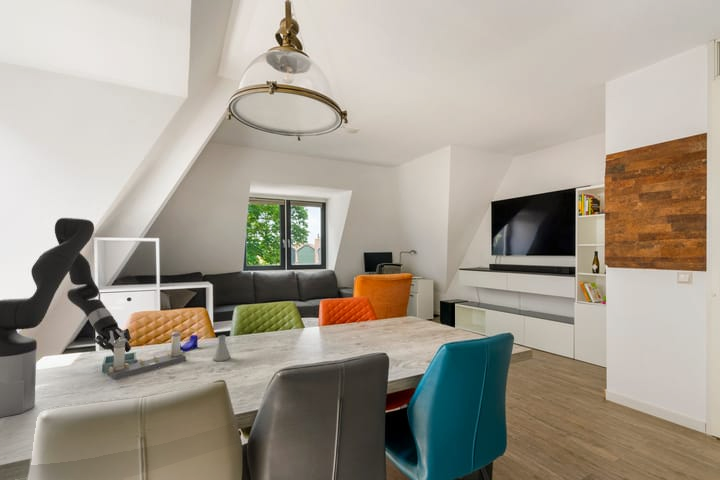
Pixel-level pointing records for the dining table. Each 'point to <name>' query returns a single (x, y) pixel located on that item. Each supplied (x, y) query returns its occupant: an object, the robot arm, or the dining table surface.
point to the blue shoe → (190, 343)
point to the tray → (109, 361)
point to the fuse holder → (146, 365)
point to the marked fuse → (119, 340)
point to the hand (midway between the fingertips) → (123, 352)
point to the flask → (221, 350)
